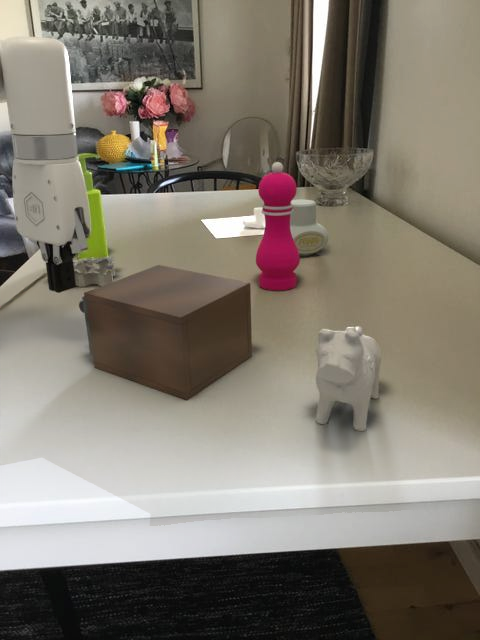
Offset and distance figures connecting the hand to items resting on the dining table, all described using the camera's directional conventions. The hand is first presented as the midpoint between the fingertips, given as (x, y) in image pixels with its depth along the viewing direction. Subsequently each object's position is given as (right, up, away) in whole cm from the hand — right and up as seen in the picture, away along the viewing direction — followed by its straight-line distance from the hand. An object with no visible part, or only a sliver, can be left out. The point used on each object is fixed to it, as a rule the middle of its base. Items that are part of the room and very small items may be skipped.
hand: (62, 288), depth 77 cm
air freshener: (+36, +9, +36) cm, 52 cm away
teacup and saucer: (+26, +18, +59) cm, 67 cm away
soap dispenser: (-5, +8, +37) cm, 38 cm away
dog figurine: (+35, -14, -19) cm, 42 cm away
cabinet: (+16, -9, -8) cm, 20 cm away
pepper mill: (+30, +1, +18) cm, 35 cm away
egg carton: (-3, +2, +23) cm, 23 cm away
